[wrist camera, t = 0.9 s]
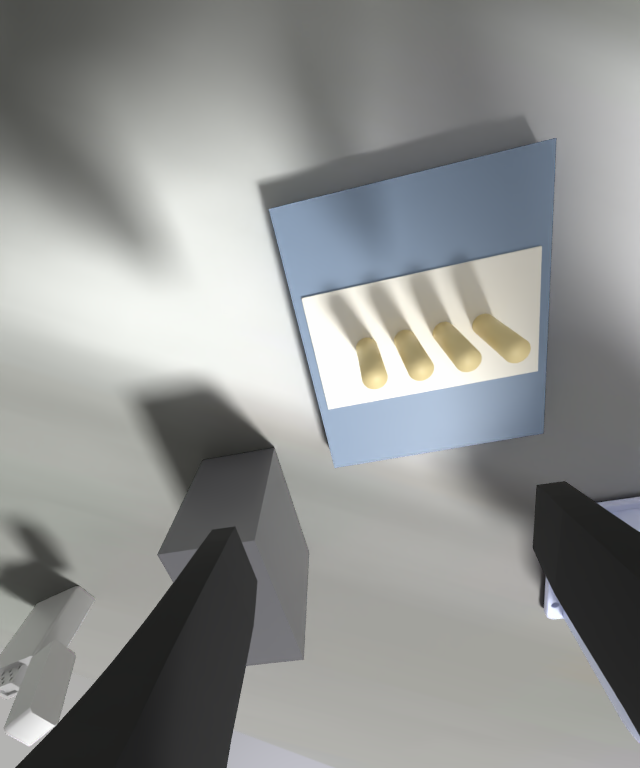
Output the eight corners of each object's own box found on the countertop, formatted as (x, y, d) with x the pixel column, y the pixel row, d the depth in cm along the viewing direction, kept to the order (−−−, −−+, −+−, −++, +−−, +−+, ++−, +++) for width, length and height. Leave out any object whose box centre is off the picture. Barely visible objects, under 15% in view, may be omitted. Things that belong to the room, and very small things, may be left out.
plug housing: (274, 447, 20) (254, 540, 14) (309, 552, 23) (303, 659, 18) (202, 460, 20) (157, 554, 15) (247, 561, 24) (223, 668, 18)
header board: (531, 419, 19) (584, 477, 15) (334, 453, 20) (335, 514, 16) (538, 142, 14) (621, 120, 10) (273, 208, 15) (253, 211, 11)
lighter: (54, 618, 27) (-47, 773, 19) (35, 604, 26) (-77, 759, 19) (129, 585, 25) (49, 742, 18) (111, 570, 24) (19, 725, 17)
